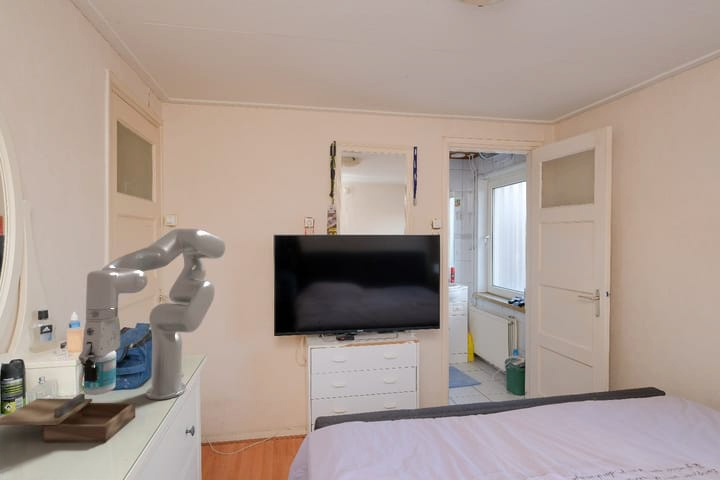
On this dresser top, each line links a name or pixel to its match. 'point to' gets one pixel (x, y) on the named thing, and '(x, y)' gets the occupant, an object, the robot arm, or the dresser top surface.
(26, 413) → the lid
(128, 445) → the dresser top surface
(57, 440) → the box
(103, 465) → the dresser top surface
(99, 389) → the pill bottle
